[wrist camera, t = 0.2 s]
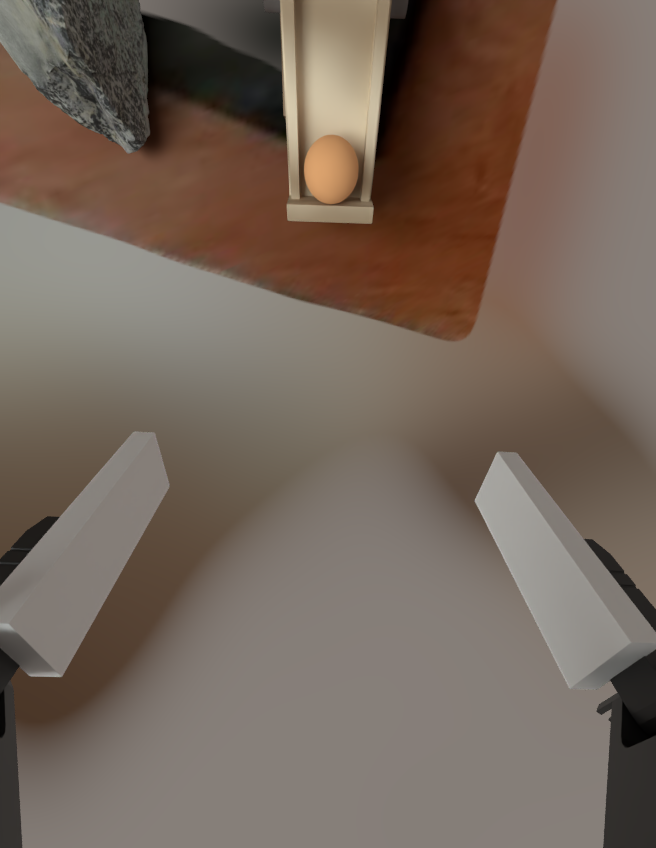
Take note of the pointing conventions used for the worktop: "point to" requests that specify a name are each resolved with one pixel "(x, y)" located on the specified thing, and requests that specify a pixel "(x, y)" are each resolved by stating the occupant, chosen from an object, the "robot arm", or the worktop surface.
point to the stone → (85, 61)
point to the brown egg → (331, 169)
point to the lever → (333, 92)
